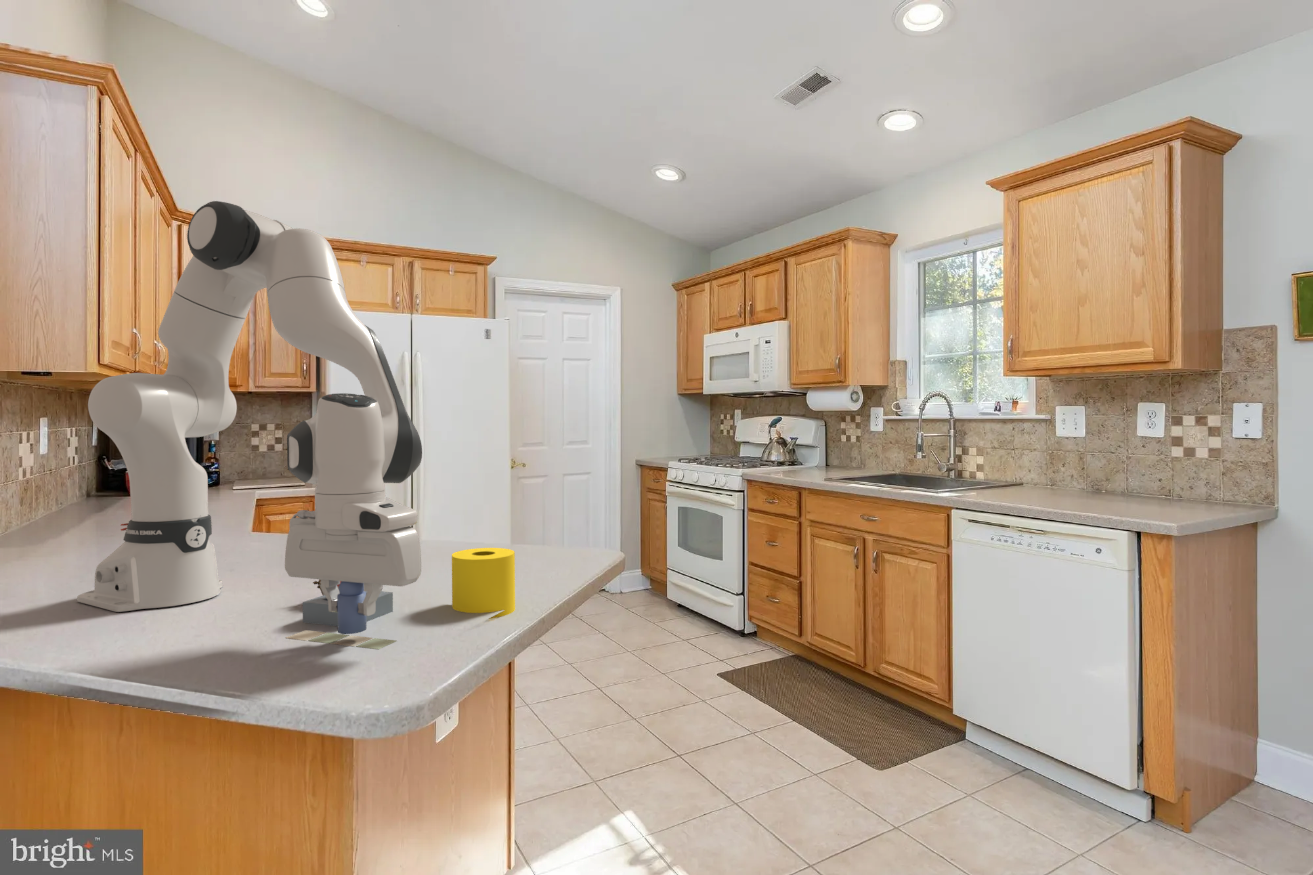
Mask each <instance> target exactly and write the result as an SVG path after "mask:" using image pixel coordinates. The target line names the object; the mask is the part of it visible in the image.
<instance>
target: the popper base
mask: <svg viewBox="0 0 1313 875" xmlns="http://www.w3.org/2000/svg"><path fill="white" fill-rule="evenodd" d="M365 592H366V594H367V592H368V591H365ZM393 594H394V592H392V591H383V590H382V591H381V593H380V595H379V596H378V598H377V600H376V611H375V613H374V614H372V615H370V616H366V623H367V622H370V621H372V620H375V619H377V618H380V617H382V616H385V615H388V614H390V613H393V612H394V601H393V600H394V595H393ZM302 623H305V624H316V625H325V626H335V627H338V613H337V612H329V610H328V600H327V598H326V596H325V595H320V596H316V597H314V598H310V599H308V600H304V601H302Z"/></svg>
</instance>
